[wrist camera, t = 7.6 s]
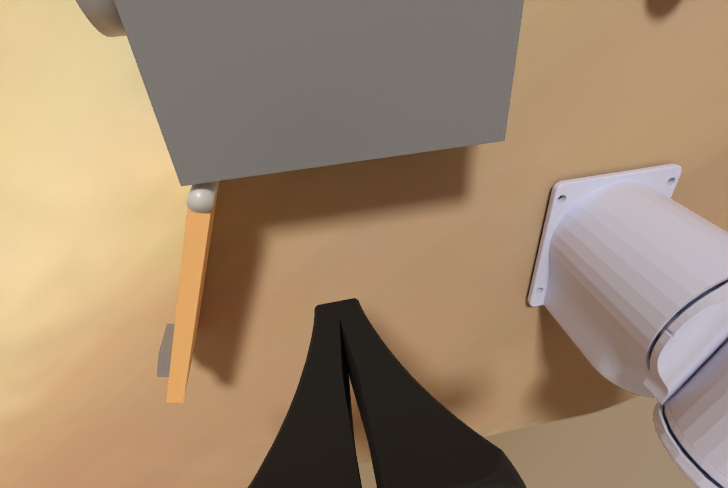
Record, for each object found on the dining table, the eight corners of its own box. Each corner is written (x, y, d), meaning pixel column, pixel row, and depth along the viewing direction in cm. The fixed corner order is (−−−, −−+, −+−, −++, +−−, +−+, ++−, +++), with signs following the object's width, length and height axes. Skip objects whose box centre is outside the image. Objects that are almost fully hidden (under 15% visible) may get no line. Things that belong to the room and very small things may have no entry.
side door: (169, 333, 24) (150, 401, 20) (188, 139, 18) (168, 185, 14) (197, 335, 24) (184, 402, 21) (225, 147, 19) (214, 194, 15)
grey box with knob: (456, 103, 20) (512, 146, 15) (168, 140, 18) (134, 200, 14) (474, -193, 14) (574, -267, 9) (55, -177, 12) (-68, -256, 8)
